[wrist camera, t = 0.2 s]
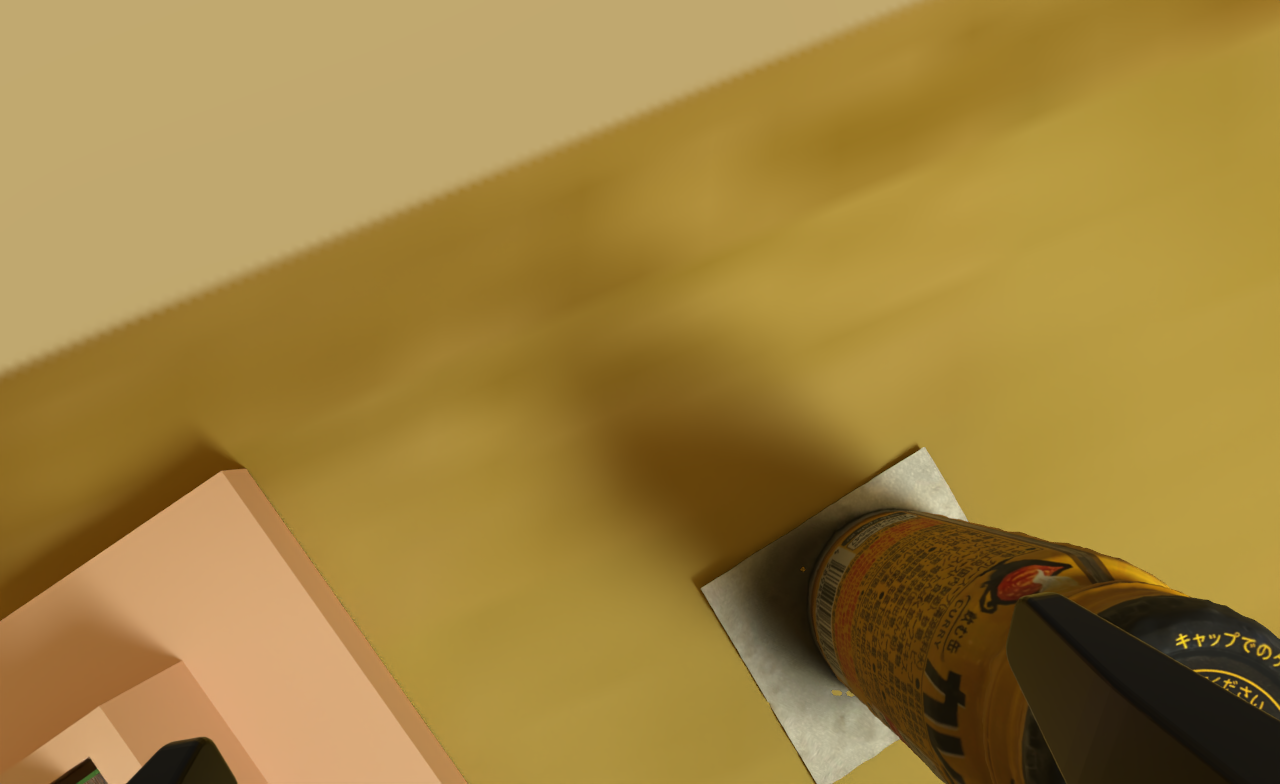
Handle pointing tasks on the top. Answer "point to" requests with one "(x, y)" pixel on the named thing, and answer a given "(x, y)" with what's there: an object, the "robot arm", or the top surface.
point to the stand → (204, 660)
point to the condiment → (943, 630)
